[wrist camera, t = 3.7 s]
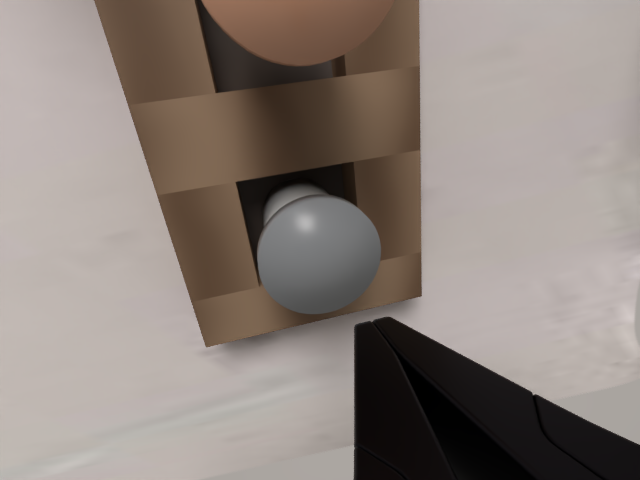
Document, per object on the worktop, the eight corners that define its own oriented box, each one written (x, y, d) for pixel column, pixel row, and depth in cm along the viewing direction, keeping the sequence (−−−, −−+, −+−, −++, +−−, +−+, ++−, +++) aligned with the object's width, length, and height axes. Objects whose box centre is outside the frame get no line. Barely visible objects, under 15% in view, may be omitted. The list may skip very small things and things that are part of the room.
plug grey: (336, 161, 18) (377, 188, 13) (345, 245, 20) (384, 299, 15) (243, 177, 17) (245, 213, 12) (261, 263, 19) (270, 326, 14)
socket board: (388, -155, 14) (417, -202, 12) (402, 275, 22) (421, 296, 20) (68, -144, 12) (31, -196, 10) (209, 319, 21) (206, 347, 18)
